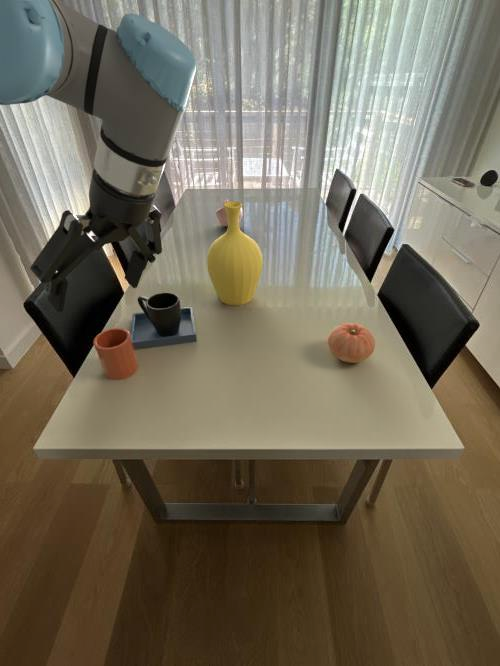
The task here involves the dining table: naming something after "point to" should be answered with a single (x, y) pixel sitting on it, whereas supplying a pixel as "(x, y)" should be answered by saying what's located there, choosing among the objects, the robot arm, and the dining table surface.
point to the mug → (162, 312)
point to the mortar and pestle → (225, 215)
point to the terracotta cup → (116, 353)
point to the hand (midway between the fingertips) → (96, 293)
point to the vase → (234, 261)
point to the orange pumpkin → (351, 342)
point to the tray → (148, 336)
